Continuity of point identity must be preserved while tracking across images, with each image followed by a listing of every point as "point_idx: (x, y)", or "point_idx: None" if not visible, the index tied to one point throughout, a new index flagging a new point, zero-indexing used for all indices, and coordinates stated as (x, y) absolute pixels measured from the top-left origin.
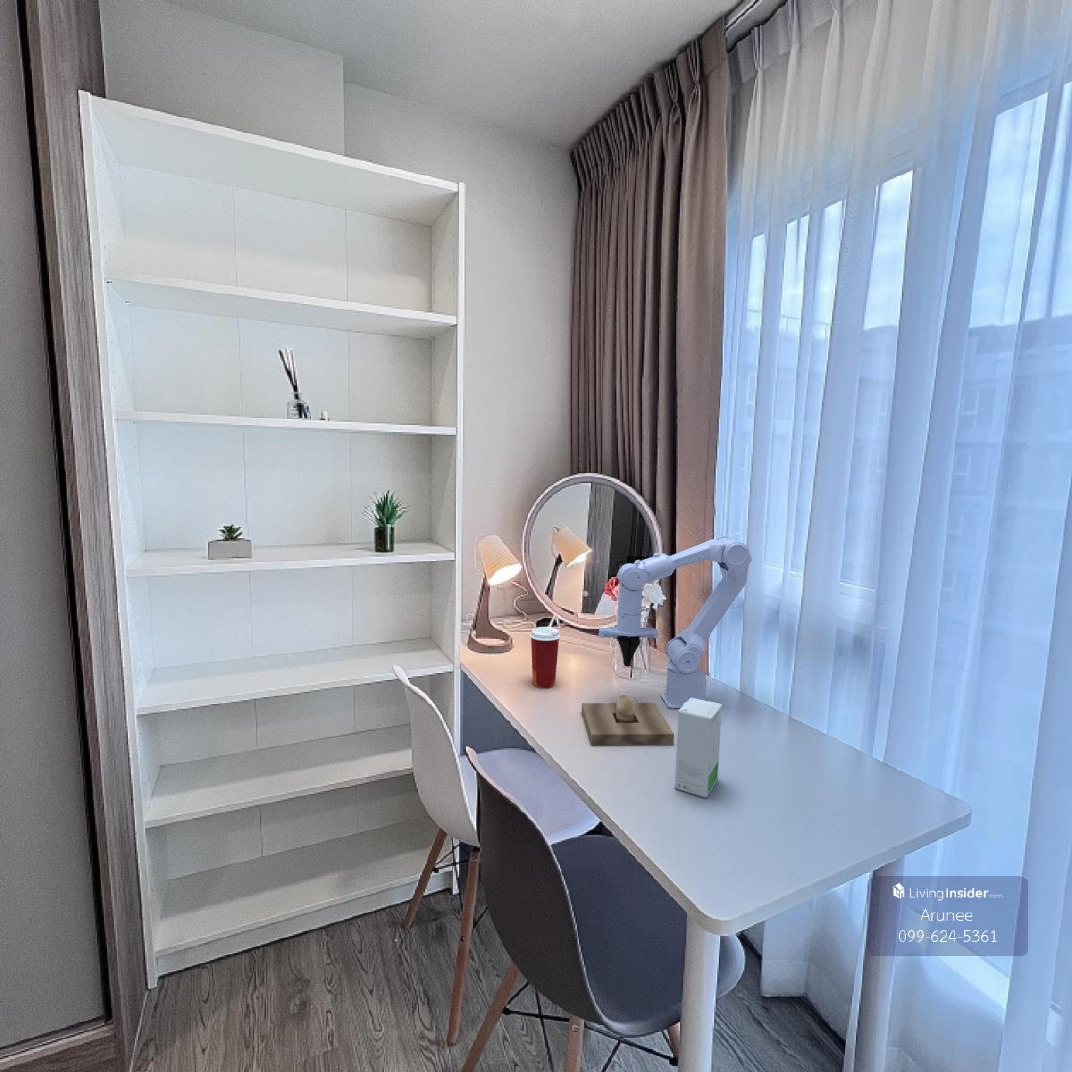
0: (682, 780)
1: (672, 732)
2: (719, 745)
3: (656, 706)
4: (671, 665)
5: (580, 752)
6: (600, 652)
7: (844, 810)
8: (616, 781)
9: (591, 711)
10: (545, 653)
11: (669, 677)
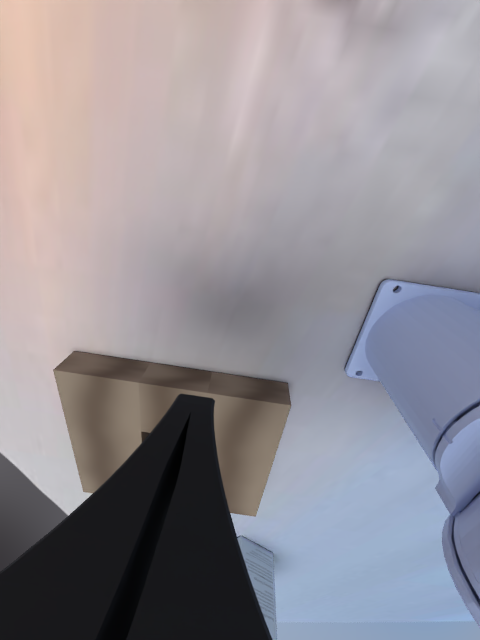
0: None
1: (255, 512)
2: (276, 631)
3: (282, 422)
4: (477, 454)
5: (76, 479)
6: None
7: (382, 600)
8: None
9: (83, 417)
10: None
11: (411, 418)
